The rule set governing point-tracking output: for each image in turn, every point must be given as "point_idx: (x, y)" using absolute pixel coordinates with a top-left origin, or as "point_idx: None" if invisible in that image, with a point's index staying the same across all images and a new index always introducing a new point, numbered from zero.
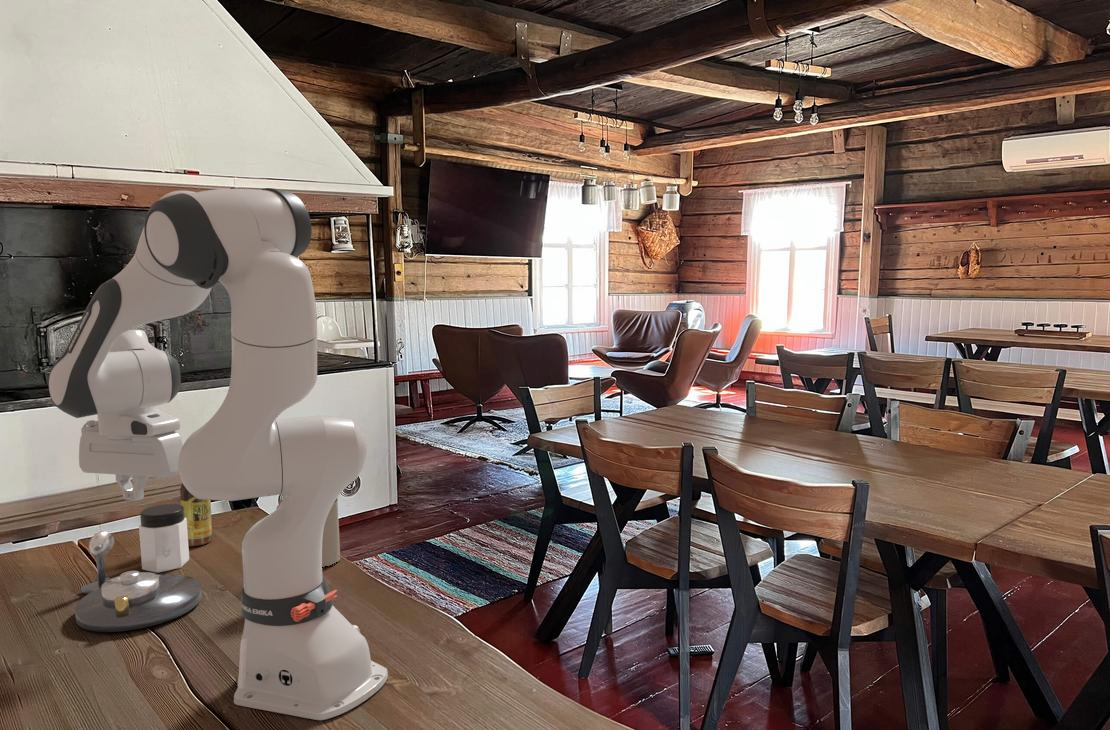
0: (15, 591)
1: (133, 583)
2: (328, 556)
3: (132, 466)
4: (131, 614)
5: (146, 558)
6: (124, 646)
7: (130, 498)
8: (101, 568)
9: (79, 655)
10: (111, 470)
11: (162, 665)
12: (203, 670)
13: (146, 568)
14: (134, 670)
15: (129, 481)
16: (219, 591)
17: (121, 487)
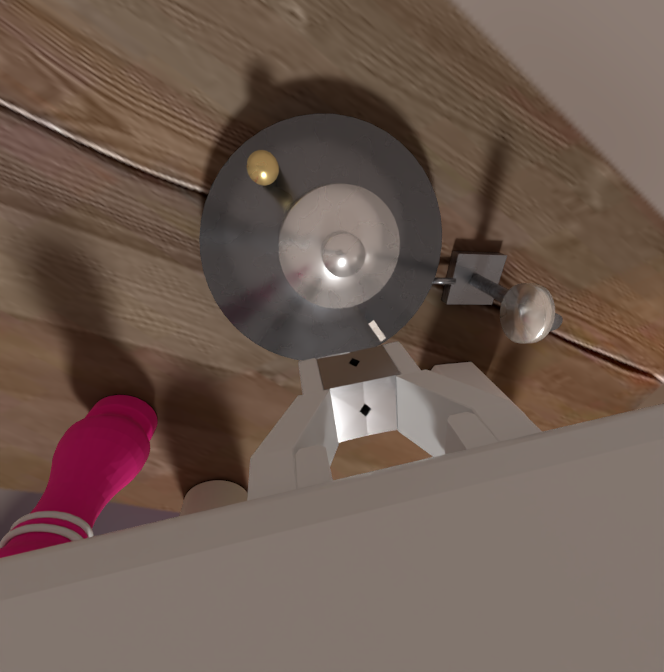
0: (629, 199)
1: (321, 246)
2: (180, 512)
3: (244, 647)
4: (248, 180)
5: (470, 375)
6: (179, 105)
7: (343, 354)
8: (491, 289)
9: (225, 15)
10: (615, 452)
11: None
12: None
13: (461, 364)
14: (14, 9)
15: (438, 453)
16: (261, 366)
17: (431, 378)
